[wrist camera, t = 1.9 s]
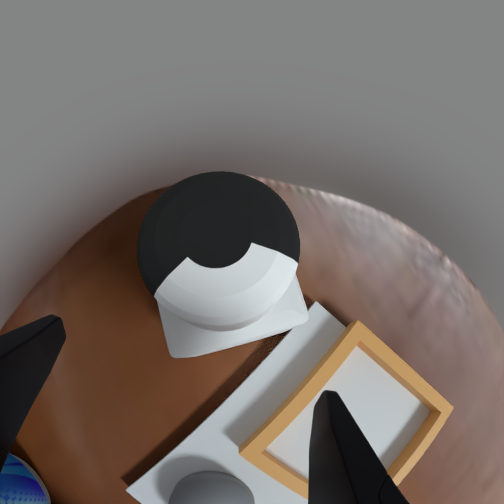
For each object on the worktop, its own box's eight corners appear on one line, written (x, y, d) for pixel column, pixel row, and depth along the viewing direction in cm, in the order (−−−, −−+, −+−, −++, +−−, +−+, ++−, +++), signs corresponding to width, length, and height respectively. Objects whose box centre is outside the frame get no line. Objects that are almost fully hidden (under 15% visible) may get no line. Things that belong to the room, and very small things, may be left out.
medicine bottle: (169, 264, 22) (110, 176, 10) (259, 241, 23) (281, 135, 11) (191, 357, 20) (136, 362, 8) (287, 330, 21) (349, 303, 9)
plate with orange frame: (269, 572, 13) (272, 587, 10) (128, 486, 16) (118, 498, 13) (438, 405, 19) (454, 407, 16) (317, 298, 21) (326, 291, 19)
